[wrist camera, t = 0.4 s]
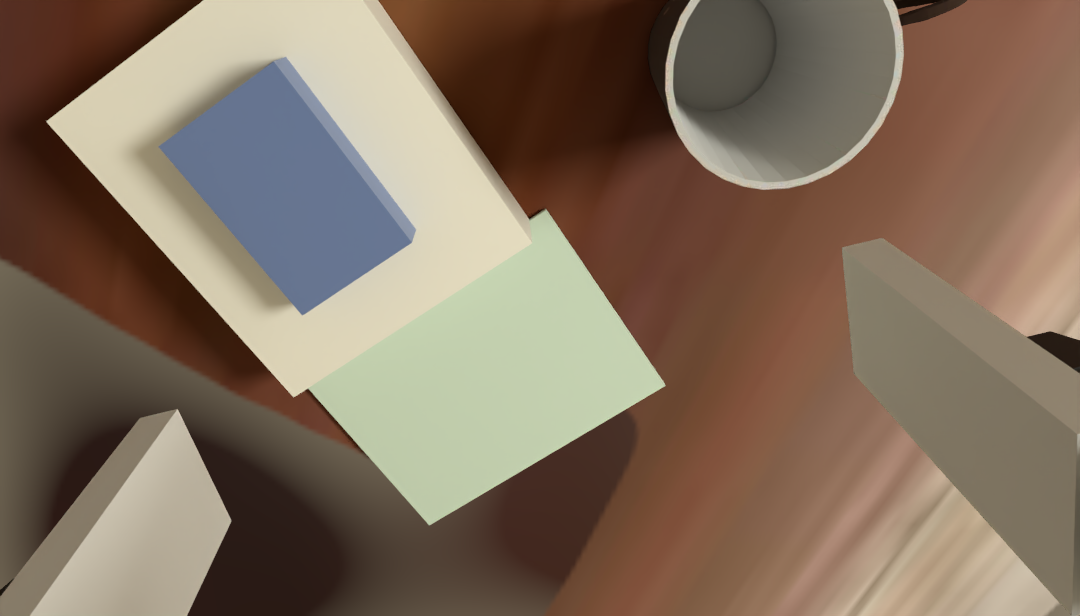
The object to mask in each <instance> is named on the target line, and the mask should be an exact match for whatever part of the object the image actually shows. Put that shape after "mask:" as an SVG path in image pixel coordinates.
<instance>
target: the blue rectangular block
mask: <svg viewBox="0 0 1080 616" xmlns="http://www.w3.org/2000/svg"><path fill="white" fill-rule="evenodd" d="M158 147H159V148H160V149H161V150H162V152H163V153H164V154H165V155H166V156H167V158H168V159H169V160H170V161H171V162H172V163H173V165H174V166H175V167H176V168H177V169H178V170H179V172H180V173H181V174H182V175H183V176H184V177H185V179H186V180H187V181H188V182H189V183H190V184H191V186H192V187H193V188H194V189H195V190H196V192H197V193H198V194H199V195H200V196H201V197H202V199H203V200H204V201H205V202H206V203H207V204H208V206H209V207H210V208H211V209H212V210H213V211H214V213H215V214H216V215H217V216H218V217H219V219H220V220H221V221H222V222H223V223H224V224H225V226H226V227H227V228H228V229H229V230H230V231H231V233H232V234H233V235H234V236H235V237H236V238H237V240H238V241H239V242H240V243H241V244H242V245H243V247H244V248H245V249H246V250H247V251H248V253H249V254H250V255H251V256H252V257H253V258H254V260H255V261H256V262H257V263H258V264H259V265H260V267H261V268H262V269H263V270H264V271H265V272H266V274H267V275H268V276H269V277H270V278H271V280H272V281H273V282H274V283H275V284H276V285H277V287H278V288H279V289H280V290H281V291H282V292H283V294H284V295H285V296H286V297H287V298H288V299H289V301H290V302H291V303H292V304H293V305H294V306H295V308H296V309H297V310H298V311H299V312H300V314H301V315H302V316H303V315H304V314H306V313H307V312H309V311H310V310H312V309H313V308H315V307H316V306H318V305H319V304H321V303H322V302H324V301H325V300H327V299H328V298H330V297H331V296H333V295H334V294H336V293H337V292H339V291H340V290H342V289H343V288H345V287H346V286H348V285H349V284H351V283H352V282H354V281H355V280H357V279H358V278H360V277H361V276H363V275H364V274H366V273H367V272H369V271H370V270H372V269H373V268H375V267H376V266H378V265H379V264H381V263H382V262H384V261H385V260H387V259H388V258H390V257H391V256H393V255H394V254H396V253H397V252H399V251H400V250H402V249H403V248H405V247H406V246H408V245H409V244H411V243H412V241H413V238H414V235H415V232H416V229H415V227H414V226H413V225H412V223H411V222H410V221H409V219H408V218H407V217H406V215H405V214H404V213H403V211H402V210H401V209H400V207H399V206H398V205H397V203H396V202H395V201H394V199H393V198H392V197H391V195H390V194H389V193H388V191H387V190H386V189H385V187H384V186H383V185H382V183H381V182H380V181H379V180H378V178H377V177H376V176H375V174H374V173H373V172H372V170H371V169H370V168H369V166H368V165H367V164H366V162H365V161H364V160H363V158H362V157H361V156H360V154H359V153H358V152H357V150H356V149H355V148H354V146H353V145H352V144H351V142H350V141H349V140H348V138H347V137H346V136H345V134H344V133H343V132H342V130H341V129H340V128H339V126H338V125H337V124H336V122H335V121H334V120H333V118H332V117H331V116H330V115H329V113H328V112H327V111H326V109H325V108H324V107H323V105H322V104H321V103H320V101H319V100H318V99H317V97H316V96H315V95H314V93H313V92H312V91H311V89H310V88H309V87H308V85H307V84H306V83H305V81H304V80H303V79H302V77H301V76H300V75H299V73H298V72H297V71H296V69H295V68H294V67H293V65H292V64H291V63H290V61H289V60H288V59H287V57H284V58H281V59H278V60H276V61H273V62H272V63H271V64H269V65H268V66H267V67H265V68H264V69H263V70H261V71H260V72H258V73H257V74H256V75H254V76H253V77H252V78H250V79H249V80H248V81H246V82H245V83H244V84H242V85H241V86H240V87H238V88H237V89H235V90H234V91H233V92H231V93H230V94H229V95H227V96H226V97H225V98H223V99H222V100H221V101H219V102H218V103H217V104H215V105H214V106H213V107H211V108H210V109H208V110H207V111H206V112H204V113H203V114H202V115H200V116H199V117H198V118H196V119H195V120H194V121H192V122H191V123H190V124H188V125H187V126H185V127H184V128H183V129H181V130H180V131H179V132H177V133H176V134H175V135H173V136H172V137H171V138H169V139H168V140H167V141H165V142H164V143H162V144H161V145H160V146H158Z"/></svg>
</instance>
